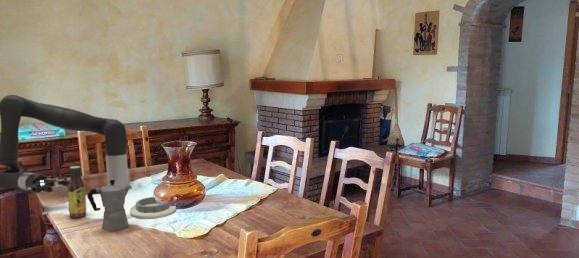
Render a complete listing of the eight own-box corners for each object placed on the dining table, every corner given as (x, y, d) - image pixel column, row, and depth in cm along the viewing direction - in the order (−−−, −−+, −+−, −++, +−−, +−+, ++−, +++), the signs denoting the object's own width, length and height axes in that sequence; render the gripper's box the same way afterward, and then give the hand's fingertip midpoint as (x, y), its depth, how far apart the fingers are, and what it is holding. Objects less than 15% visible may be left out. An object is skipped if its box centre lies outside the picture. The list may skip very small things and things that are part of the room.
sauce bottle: (80, 219, 178) (76, 169, 175) (66, 217, 179) (61, 168, 176) (90, 213, 184) (86, 165, 181) (76, 212, 185) (72, 164, 182)
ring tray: (150, 201, 198) (150, 193, 198) (184, 207, 191) (184, 198, 190) (120, 215, 182) (119, 205, 181) (156, 221, 175) (155, 211, 174)
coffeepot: (130, 219, 177) (127, 174, 174) (136, 227, 169) (133, 180, 166) (87, 227, 169) (84, 180, 166) (92, 236, 161) (88, 186, 158)
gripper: (15, 177, 183) (44, 182, 176) (47, 169, 195) (74, 173, 189) (17, 195, 184) (45, 200, 177) (48, 186, 197) (76, 190, 190)
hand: (60, 186), depth 183 cm, fingers open, 8 cm apart
